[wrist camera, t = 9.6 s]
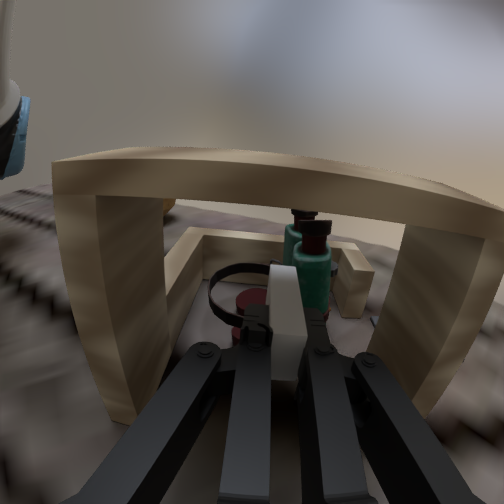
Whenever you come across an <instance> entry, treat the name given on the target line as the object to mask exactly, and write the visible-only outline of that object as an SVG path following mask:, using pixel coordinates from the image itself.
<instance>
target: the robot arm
mask: <svg viewBox="0 0 504 504" xmlns="http://www.w3.org/2000/svg"><path fill="white" fill-rule="evenodd" d="M16 2H17V0H0V180H3V179H4V178H5V177H9V176H13V175H16V174H18V173H20V172H21V170H22V169H23V166H24V160H25V147H26V146H25V145H26V135H27V126H28V117H29V109H30V98H29V97H24V96H21V97H20V90H19V87H18V85H17V84H16V83H15V82H14V81H12V80H11V79H10V54H11V39H12V29H13V21H14V14H15V7H16ZM297 375H298V380H299V381H298V385H297V388H296V392H295V395H294V399H293V400H296V398H297V405H298V421H299V438H300V458H301V481H302V504H378V501H377V500H376V498H374V497H372V496H370V495H369V493H368V490H367V484H366V478H365V473H364V467H363V462H362V457H361V452H360V447H359V444H360V446H361V448H362V450H363V452H364V454H365V456H366V458H367V460H368V462H369V464H370V466H371V468H372V470H373V472H374V474H375V476H376V478H377V480H378V482H379V484H380V486H381V488H382V490H383V492H384V494H385V496H386V498H387V500H388V502H389V504H486V503H485V502H483V501H482V500H481V499H479V498H478V497H477V496H475V495H474V494H473V493H472V492H471V490H470V488H469V487H468V485H467V484H466V482H465V480H464V479H463V477H462V476H461V474H460V473H459V471H458V469H457V468H456V466H455V465H454V463H453V462H452V460H451V459H450V457H449V456H448V454H447V453H446V451H445V450H444V448H443V446H442V445H441V443H440V442H439V441H438V439H437V438H436V436H435V435H434V433H433V432H432V430H431V429H430V427H429V426H428V424H427V423H426V421H425V420H424V418H423V417H422V416H421V414H420V413H419V411H418V410H417V408H416V407H415V406H414V404H413V403H412V401H411V400H410V398H409V397H408V396H407V394H406V393H405V391H404V390H403V389H402V387H401V386H400V384H399V383H398V382H397V380H396V379H395V377H394V376H393V375H392V373H391V372H390V371H389V369H388V368H387V366H386V365H385V364H384V362H383V361H382V360H381V359H380V358H379V357H378V356H377V355H375V354H373V353H369V352H361V353H359V354H357V355H356V356H355V358H350V357H346V356H343V355H340V354H339V353H338V352H337V349H336V348H335V347H334V346H333V345H332V344H330V340H329V336H328V332H327V328H326V325H325V322H324V317H323V314H322V313H321V312H320V311H319V309H318V308H306V307H303V305H302V299H301V294H300V288H299V283H298V277H297V272H296V267H293V266H283V265H273V264H270V272H269V280H268V288H267V296H266V305H263V304H252V303H249V304H248V306H247V307H246V308H245V311H244V318H243V325H242V327H241V329H240V341H239V343H238V344H237V345H236V346H234V347H232V348H228V349H221V350H220V348H219V347H218V346H217V345H216V344H213V343H211V342H198V343H196V344H194V345H192V346H191V347H190V348H189V350H188V351H187V352H186V354H185V355H184V356H183V357H182V359H181V360H180V361H179V363H178V364H177V365H176V367H175V368H174V369H173V371H172V372H171V373H170V375H169V376H168V377H167V379H166V380H165V381H164V383H163V384H162V385H161V386H160V388H159V389H158V390H157V392H156V393H155V394H154V396H153V397H152V398H151V400H150V401H149V402H148V403H147V405H146V406H145V407H144V409H143V410H142V411H141V413H140V414H139V415H138V417H137V418H136V419H135V420H134V422H133V423H132V424H131V426H130V427H129V428H128V430H127V431H126V432H125V433H124V435H123V436H122V437H121V439H120V440H119V441H118V443H117V444H116V445H115V446H114V448H113V449H112V450H111V452H110V453H109V454H108V455H107V457H106V458H105V459H104V461H103V462H102V463H101V464H100V466H99V467H98V468H97V470H96V471H95V472H94V473H93V475H92V476H91V477H90V479H89V480H88V481H87V482H86V484H85V485H84V486H83V488H82V489H81V490H80V491H79V493H77V494H76V495H74V496H72V497H70V498H68V499H66V500H64V501H63V502H61V503H59V504H159V503H160V502H161V500H162V498H163V497H164V495H165V493H166V492H167V490H168V488H169V486H170V485H171V483H172V481H173V480H174V478H175V476H176V475H177V473H178V471H179V469H180V468H181V466H182V464H183V462H184V461H185V459H186V457H187V455H188V454H189V452H190V450H191V448H192V447H193V445H194V443H195V441H196V439H197V438H198V436H199V434H200V432H201V430H202V429H203V427H204V425H205V423H206V421H207V420H208V418H209V416H210V414H211V412H212V410H213V408H214V407H215V405H216V403H217V401H218V399H219V397H220V395H224V394H231V393H233V394H232V401H231V409H230V416H229V423H228V431H227V438H226V445H225V453H224V460H223V467H222V475H221V482H220V489H219V496H218V501H217V504H270V503H269V477H270V426H271V380H285V381H296V379H297Z"/></svg>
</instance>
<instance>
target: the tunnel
mask: <svg viewBox="0 0 504 504" xmlns="http://www.w3.org/2000/svg"><path fill="white" fill-rule="evenodd" d="M52 186H53V200H54V211H55V220H56V229H57V236H58V243H59V249H60V255H61V261H62V267H63V272H64V277H65V282H66V286H67V291H68V295H69V299H70V303H71V307H72V311H73V315H74V319H75V322H76V326H77V329H78V333H79V336H80V339H81V342H82V346H83V349H84V352H85V355H86V358H87V361H88V363H89V366H90V369H91V372H92V375H93V377H94V380H95V382H96V385H97V387H98V390H99V392H100V395H101V397H102V400H103V402H104V404H105V407H106V409H107V411H108V413H109V416H110V418H111V420H112V421H116V422H119V423H122V424H126V425H129V426H131V424H132V423H133V422H134V420H135V419H136V418H137V417H138V415H139V414H140V413H141V411H142V410H143V409H144V407H145V406H146V405H147V403H148V402H149V401H150V400H151V398H152V397H153V396H154V394H155V393H156V391H157V389H158V386H159V384H160V381H161V378H162V376H163V373H164V371H165V368H166V366H167V363H168V361H169V358H170V356H171V353H172V351H173V348H174V346H175V343H176V341H177V339H178V336H179V334H180V331H181V329H182V326H183V324H184V322H185V319H186V317H187V314H188V312H189V310H190V307H191V305H192V303H193V300H194V298H195V296H196V293H197V291H198V289H199V286H200V284H201V282H202V279H208V280H209V279H210V277H211V276H212V275H213V274H214V272H215V271H217V270H220V269H222V268H224V267H226V266H228V265H231V264H236V263H246V262H252V263H265V264H270V260H271V259H275V260H278V261H280V262H281V263H282V264H283V250H284V236H281V235H271V234H261V233H251V232H240V231H230V230H219V229H208V228H196V227H189V228H188V229H187V230H186V231H185V233H184V234H183V235H182V236H181V238H180V239H179V240H178V241H177V243H176V244H175V245H174V246H173V248H172V249H171V250H170V251H169V253H168V254H167V255H166V256H165V258H164V239H163V198H171V199H187V200H201V201H215V202H227V203H238V204H250V205H261V206H270V207H280V208H289V209H298V210H307V211H315V212H324V213H332V214H340V215H347V216H355V217H362V218H369V219H375V220H382V221H389V222H395V223H402V224H406V225H405V230H404V234H403V238H402V242H401V246H400V250H399V254H398V257H397V261H396V265H395V268H394V272H393V275H392V279H391V282H390V285H389V288H388V292H387V295H386V298H385V301H384V304H383V307H382V310H381V313H380V316H379V318H378V321H377V324H376V327H375V330H374V332H373V335H372V338H371V340H370V343H369V345H368V348H367V350H366V352H369V353H373V354H375V355H377V356H378V357H379V358H380V359H381V360H382V361H383V362H384V364H385V365H386V366H387V368H388V369H389V371H390V372H391V373H392V375H393V376H394V377H395V379H396V380H397V382H398V383H399V384H400V386H401V387H402V389H403V390H404V391H405V393H406V394H407V396H408V397H409V398H410V400H411V401H412V403H413V404H414V406H415V407H416V408H417V410H418V411H419V413H420V414H421V416H422V417H423V418H424V419H425V418H426V416H427V415H428V414H429V412H430V411H431V410H432V408H433V407H434V405H435V404H436V403H437V401H438V400H439V398H440V397H441V395H442V394H443V392H444V391H445V389H446V388H447V386H448V385H449V383H450V382H451V380H452V378H453V377H454V375H455V374H456V372H457V370H458V369H459V367H460V365H461V364H462V362H463V360H464V358H465V357H466V355H467V353H468V351H469V349H470V348H471V346H472V344H473V342H474V340H475V338H476V336H477V334H478V332H479V330H480V328H481V326H482V324H483V322H484V320H485V318H486V315H487V313H488V311H489V309H490V307H491V304H492V302H493V300H494V297H495V295H496V292H497V290H498V287H499V285H500V282H501V279H502V276H503V274H504V209H502V208H500V207H498V206H496V205H494V204H491V203H489V202H487V201H484V200H482V199H480V198H478V197H475V196H473V195H470V194H468V193H465V192H463V191H460V190H458V189H455V188H452V187H450V186H448V185H445V184H442V183H439V182H435V181H431V180H427V179H423V178H419V177H415V176H410V175H406V174H401V173H397V172H392V171H387V170H383V169H378V168H372V167H367V166H362V165H356V164H350V163H345V162H338V161H332V160H325V159H319V158H311V157H304V156H295V155H287V154H279V153H269V152H258V151H245V150H232V149H216V148H193V147H130V148H122V149H116V150H109V151H104V152H98V153H92V154H87V155H81V156H76V157H72V158H67V159H63V160H58V161H53V162H52ZM327 242H328V244H329V245H330V248H331V257H332V261H333V262H336V263H337V265H338V273H337V275H335V277H330V290H329V291H332V292H333V295H334V297H335V300H336V303H337V306H338V308H339V311H340V314H341V317H344V318H361V317H362V313H363V310H364V307H365V304H366V301H367V297H368V294H369V290H370V287H371V284H372V280H373V276H374V273H375V271H374V270H373V268H372V267H371V266H370V264H369V263H368V261H367V260H366V258H365V257H364V256H363V254H362V253H361V252H360V250H359V249H358V247H357V246H356V245H355V243H346V242H337V241H328V240H327ZM272 264H274V265H279V263H277V262H274V261H272ZM268 280H269V276H268V275H264V274H258V273H237V274H233V275H230V276H228V277H226V278H224V279H222V280H220V281H227V282H236V283H246V284H256V285H267V286H268Z"/></svg>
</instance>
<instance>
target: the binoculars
mask: <svg viewBox="0 0 504 504" xmlns="http://www.w3.org/2000/svg"><path fill="white" fill-rule="evenodd" d="M291 213H292V214H293V215H294V224H289V225H287V226H286V227H285V235H284V250H283V264H282V263H281V262H280V261H278V260H275V259H271V260H270V264H272V261H274V262H277V263H279V265H283V266H293V267H296V272H297V277H298V283H299V288H300V294H301V299H302V305H303V307H306V308H318V309H319V311H320V312H321V313H322V314H323V317H324V322H325V325H326V321H327V320H328V316H329V312H330V311H331V308H330V296H329V290H330V277H335V275H337V273H338V265H337V263H336V262H333V261H332V257H331V248H330V245H329V244H328V242H327V235H329V234H330V233H331V226H332V220H315V216H316V215H318V212H315V211H307V210H298V209H291ZM270 264H265V263H252V262H246V263H236V264H231V265H228V266H226V267H224V268H222V269H220V270H217V271H215V272H214V274H213V275H212V276H211V277H210V279H209V282H208V296H209V304H210V307H211V309H212V311H213V313H214V314H215V315H216V316H217V317H218V318H220V319H221V320H222V321H224V322H225V323H226V324H228V325H231V326H234V327H233V328H232V340H233V346H236V345H237V344H238V343H239V341H240V329H241V327H242V325H243V318H244V311H245V308H246V307H247V306H248V304H249V303H252V304H263V305H266V296H267V290H266V289H261V288H252V289H248V290H245V291H243V292H241V293H240V294H239V295H238V296H237V297H236V306H237V312H238V315H237V314H233V313H230V312H227V311H226V310H224V309H223V308H222V307H220V306H219V305H217V304H216V303H215V302H214V300H213V299H212V297H211V290H212V288H213V287H214V286H215V284H216V283H217V282H218V281H220V280H222V279H224V278H226V277H228V276H230V275H233V274H237V273H258V274H264V275H268V276H269V272H270ZM273 265H274V264H273Z"/></svg>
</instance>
